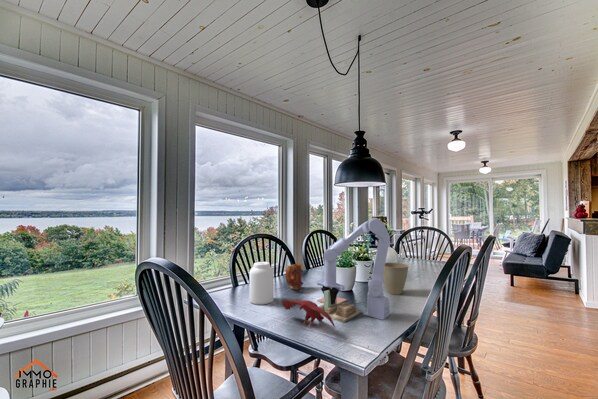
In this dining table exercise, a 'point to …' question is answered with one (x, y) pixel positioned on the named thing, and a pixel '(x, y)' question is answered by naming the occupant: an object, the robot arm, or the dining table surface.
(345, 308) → the offcut pile
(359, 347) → the dining table surface
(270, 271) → the white jar
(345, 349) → the dining table surface
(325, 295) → the pale green block
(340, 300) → the mat
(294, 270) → the orange-brown rough oval lump
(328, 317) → the red animal figurine
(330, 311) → the wooden blocks on board
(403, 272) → the plant pot
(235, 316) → the dining table surface
